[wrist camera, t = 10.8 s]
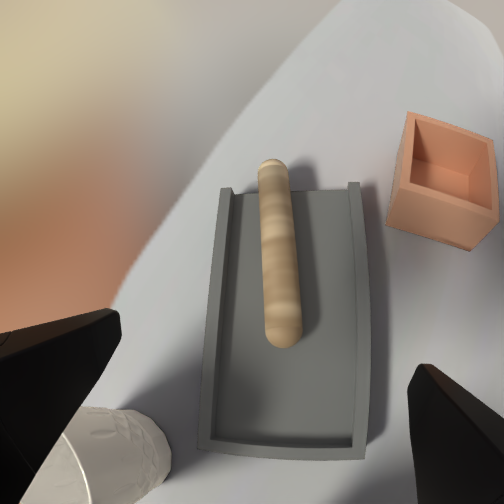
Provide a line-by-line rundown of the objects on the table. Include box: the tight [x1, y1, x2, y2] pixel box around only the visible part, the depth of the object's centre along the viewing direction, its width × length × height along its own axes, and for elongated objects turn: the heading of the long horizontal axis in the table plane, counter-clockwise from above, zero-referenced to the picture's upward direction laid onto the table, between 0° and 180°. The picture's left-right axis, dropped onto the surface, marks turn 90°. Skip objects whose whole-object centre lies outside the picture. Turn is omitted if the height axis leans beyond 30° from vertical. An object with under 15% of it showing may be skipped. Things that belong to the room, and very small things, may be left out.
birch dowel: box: [258, 159, 303, 348], centre depth 20 cm, size 6×2×12 cm
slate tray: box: [197, 182, 371, 461], centre depth 19 cm, size 18×10×2 cm, turn 176°
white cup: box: [20, 406, 172, 504], centre depth 14 cm, size 8×8×10 cm
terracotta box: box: [385, 111, 499, 251], centre depth 19 cm, size 7×7×5 cm
